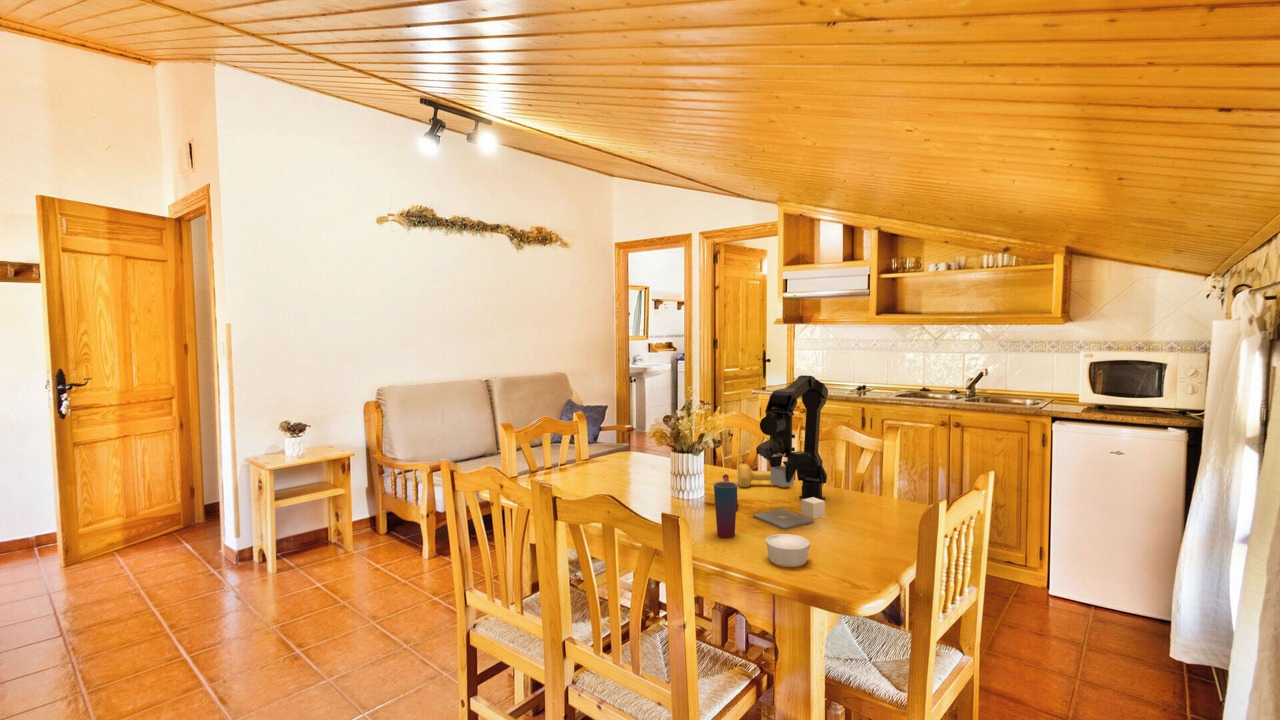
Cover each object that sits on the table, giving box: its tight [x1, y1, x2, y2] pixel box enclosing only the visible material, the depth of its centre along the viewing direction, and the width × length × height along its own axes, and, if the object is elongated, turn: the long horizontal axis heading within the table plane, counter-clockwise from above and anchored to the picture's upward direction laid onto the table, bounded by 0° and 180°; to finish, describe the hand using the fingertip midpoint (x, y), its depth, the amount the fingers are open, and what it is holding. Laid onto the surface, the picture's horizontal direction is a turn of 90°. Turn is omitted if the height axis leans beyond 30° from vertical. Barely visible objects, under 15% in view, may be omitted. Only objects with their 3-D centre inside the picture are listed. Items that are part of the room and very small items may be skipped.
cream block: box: [801, 497, 826, 520], centre depth 193 cm, size 5×5×5 cm
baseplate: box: [752, 508, 815, 531], centre depth 189 cm, size 12×14×1 cm
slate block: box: [770, 466, 795, 488], centre depth 191 cm, size 5×5×5 cm
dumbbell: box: [737, 463, 789, 489], centre depth 227 cm, size 19×9×8 cm, turn 83°
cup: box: [713, 480, 739, 539], centre depth 176 cm, size 7×7×15 cm
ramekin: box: [765, 533, 811, 568], centre depth 158 cm, size 11×11×5 cm
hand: (782, 480), depth 191 cm, fingers closed on slate block, 5 cm apart
